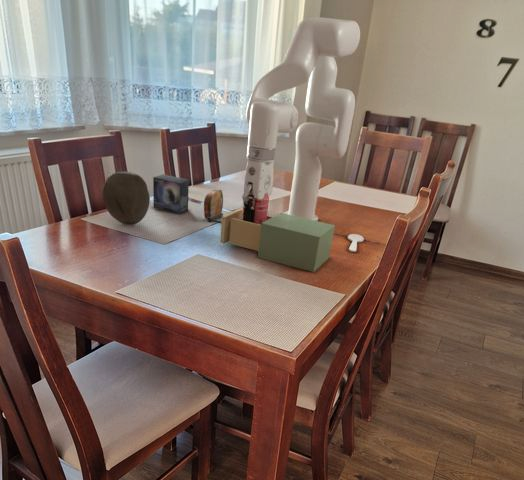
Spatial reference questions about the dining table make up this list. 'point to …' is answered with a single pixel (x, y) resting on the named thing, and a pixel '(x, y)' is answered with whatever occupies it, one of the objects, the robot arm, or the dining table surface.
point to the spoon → (354, 241)
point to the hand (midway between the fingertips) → (254, 219)
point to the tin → (213, 203)
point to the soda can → (260, 209)
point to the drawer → (238, 230)
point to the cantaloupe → (126, 197)
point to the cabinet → (295, 241)
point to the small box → (170, 193)
